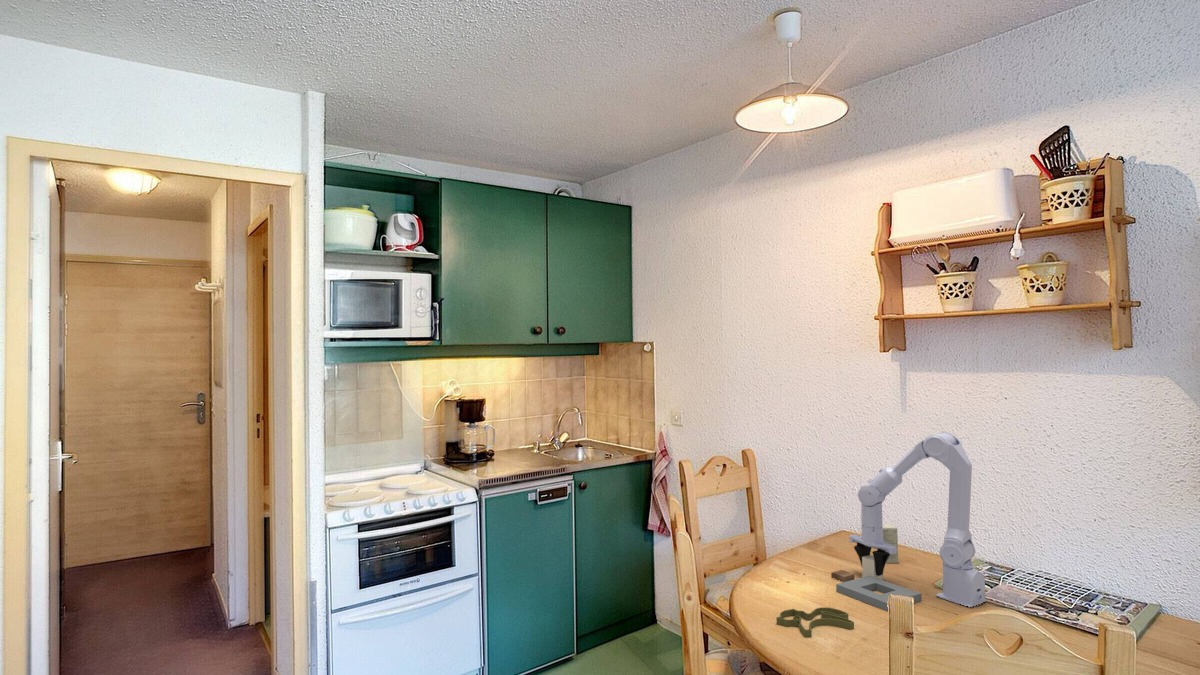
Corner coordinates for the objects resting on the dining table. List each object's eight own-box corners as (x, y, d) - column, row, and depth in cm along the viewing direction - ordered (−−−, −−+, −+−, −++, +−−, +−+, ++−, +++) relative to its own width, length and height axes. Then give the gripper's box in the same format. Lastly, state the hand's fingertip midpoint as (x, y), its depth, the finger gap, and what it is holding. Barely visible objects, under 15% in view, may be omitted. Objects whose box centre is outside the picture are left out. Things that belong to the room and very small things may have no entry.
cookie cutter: (799, 641, 147) (799, 632, 147) (769, 620, 158) (769, 612, 158) (862, 629, 153) (862, 621, 153) (828, 611, 164) (828, 603, 164)
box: (894, 559, 206) (893, 524, 206) (898, 563, 201) (898, 527, 202) (877, 558, 206) (876, 524, 206) (881, 562, 202) (881, 527, 202)
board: (921, 600, 170) (921, 593, 170) (887, 611, 163) (887, 603, 163) (869, 582, 184) (869, 575, 184) (836, 591, 177) (836, 584, 177)
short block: (854, 581, 186) (854, 574, 187) (844, 583, 184) (843, 576, 184) (841, 576, 190) (841, 569, 190) (831, 579, 188) (831, 572, 188)
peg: (883, 579, 187) (882, 558, 187) (874, 581, 185) (873, 560, 185) (871, 575, 191) (870, 554, 191) (862, 577, 189) (862, 556, 189)
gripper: (902, 529, 184) (903, 577, 184) (860, 518, 197) (860, 563, 196) (887, 533, 180) (887, 581, 180) (844, 521, 193) (845, 567, 193)
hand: (872, 572), depth 188 cm, fingers closed on peg, 4 cm apart
